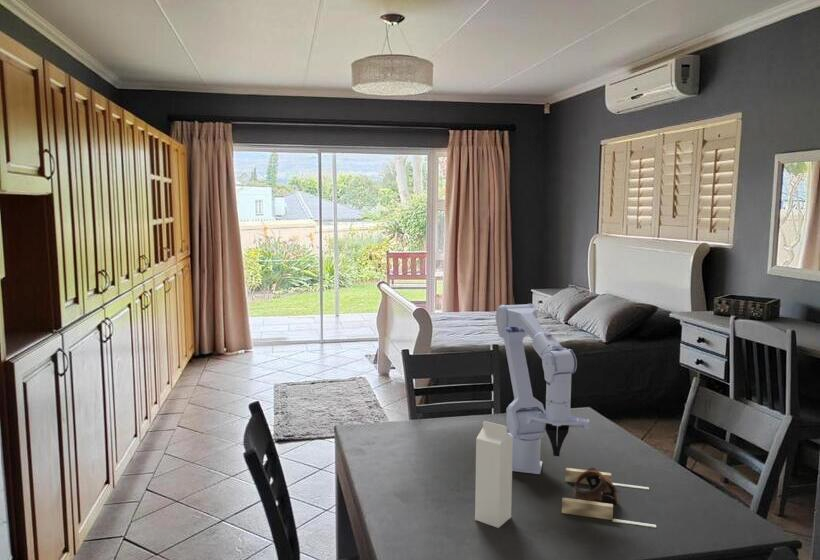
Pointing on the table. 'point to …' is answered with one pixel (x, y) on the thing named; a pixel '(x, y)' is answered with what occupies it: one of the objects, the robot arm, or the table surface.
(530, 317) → the robot arm
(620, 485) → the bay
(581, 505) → the cradle
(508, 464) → the milk
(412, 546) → the table surface
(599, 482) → the pottery mug
